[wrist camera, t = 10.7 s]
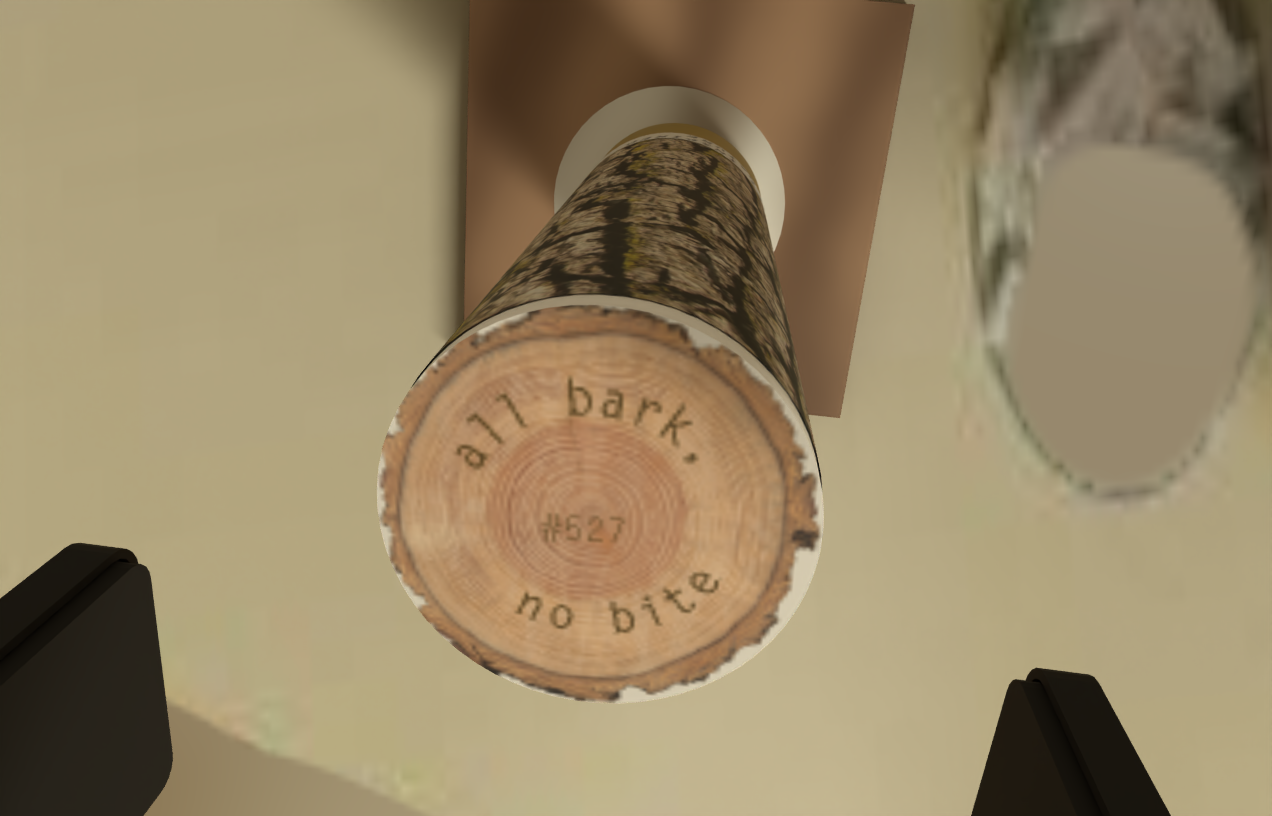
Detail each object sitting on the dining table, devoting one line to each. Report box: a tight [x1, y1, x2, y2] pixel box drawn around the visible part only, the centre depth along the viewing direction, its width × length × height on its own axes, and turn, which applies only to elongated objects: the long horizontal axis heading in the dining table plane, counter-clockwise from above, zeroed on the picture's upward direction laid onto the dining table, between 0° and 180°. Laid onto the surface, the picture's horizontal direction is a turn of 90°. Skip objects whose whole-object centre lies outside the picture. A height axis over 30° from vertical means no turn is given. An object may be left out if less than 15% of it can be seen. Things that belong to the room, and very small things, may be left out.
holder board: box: [464, 0, 915, 418], centre depth 38 cm, size 16×16×2 cm
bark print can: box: [377, 123, 824, 703], centre depth 26 cm, size 7×7×25 cm
